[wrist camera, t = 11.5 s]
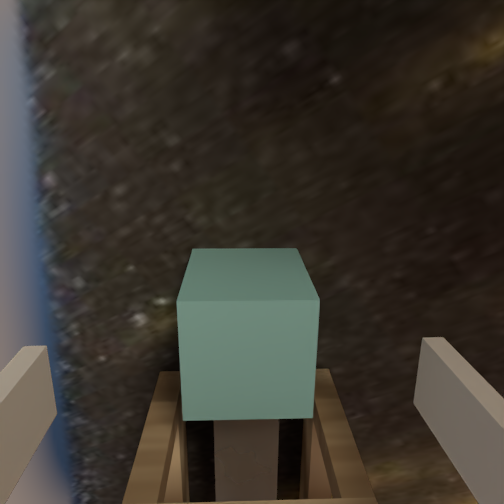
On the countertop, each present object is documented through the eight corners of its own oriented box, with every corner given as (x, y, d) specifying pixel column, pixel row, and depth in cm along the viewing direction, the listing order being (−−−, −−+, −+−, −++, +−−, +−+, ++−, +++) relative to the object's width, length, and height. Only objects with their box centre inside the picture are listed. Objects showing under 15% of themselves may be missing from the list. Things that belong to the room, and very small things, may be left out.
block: (192, 248, 20) (176, 301, 15) (296, 248, 21) (319, 300, 15) (196, 340, 22) (183, 421, 16) (292, 339, 22) (312, 418, 17)
